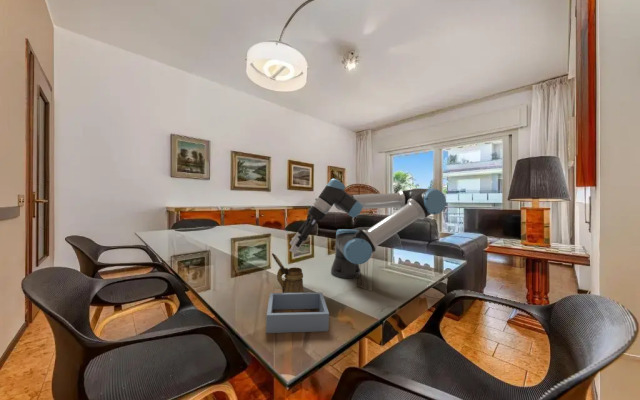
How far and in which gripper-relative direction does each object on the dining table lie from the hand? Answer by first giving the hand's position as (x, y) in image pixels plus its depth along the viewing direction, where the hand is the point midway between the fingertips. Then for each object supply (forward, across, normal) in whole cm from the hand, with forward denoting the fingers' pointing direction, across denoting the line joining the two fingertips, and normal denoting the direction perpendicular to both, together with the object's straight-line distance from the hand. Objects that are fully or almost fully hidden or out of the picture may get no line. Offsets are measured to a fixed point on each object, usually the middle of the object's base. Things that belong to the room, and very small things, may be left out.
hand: (291, 248), depth 111 cm
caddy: (+13, +29, +11) cm, 33 cm away
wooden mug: (+15, +13, +8) cm, 21 cm away
